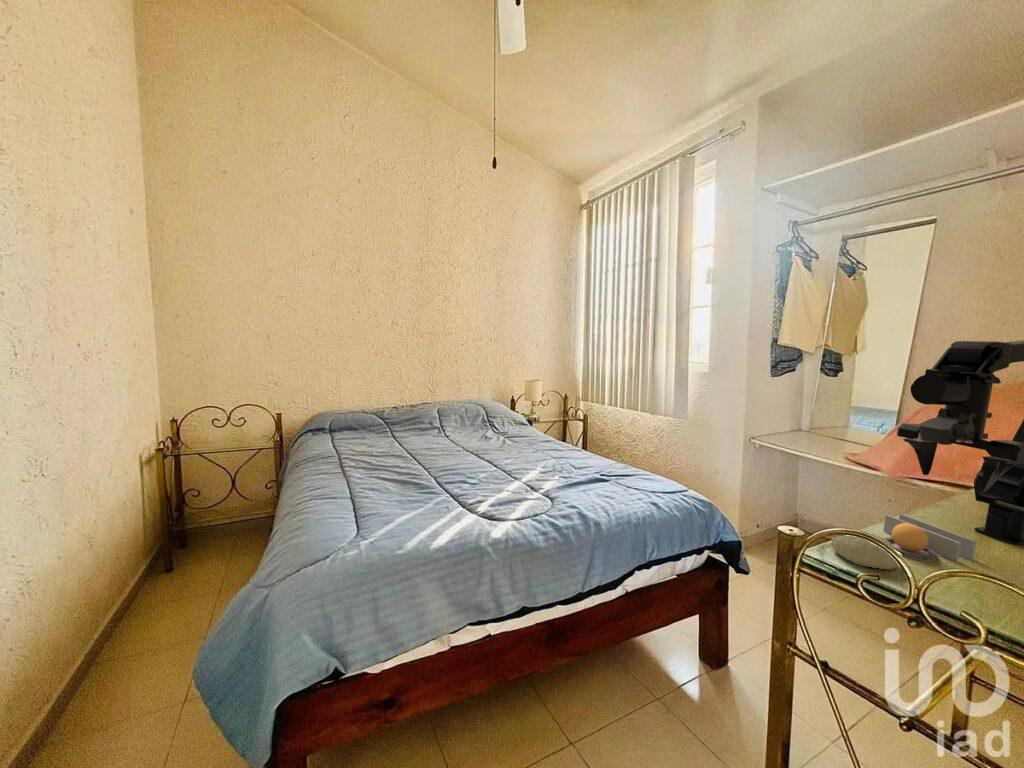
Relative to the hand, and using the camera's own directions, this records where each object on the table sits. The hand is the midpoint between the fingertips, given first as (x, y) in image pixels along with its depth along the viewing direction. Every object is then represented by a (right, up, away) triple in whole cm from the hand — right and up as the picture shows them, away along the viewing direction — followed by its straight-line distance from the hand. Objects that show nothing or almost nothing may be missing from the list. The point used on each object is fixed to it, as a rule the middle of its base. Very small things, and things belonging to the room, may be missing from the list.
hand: (952, 482), depth 83 cm
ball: (-13, -9, -5) cm, 17 cm away
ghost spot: (-13, -12, -4) cm, 18 cm away
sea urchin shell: (-25, -12, -8) cm, 29 cm away
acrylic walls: (-7, -12, -1) cm, 14 cm away
